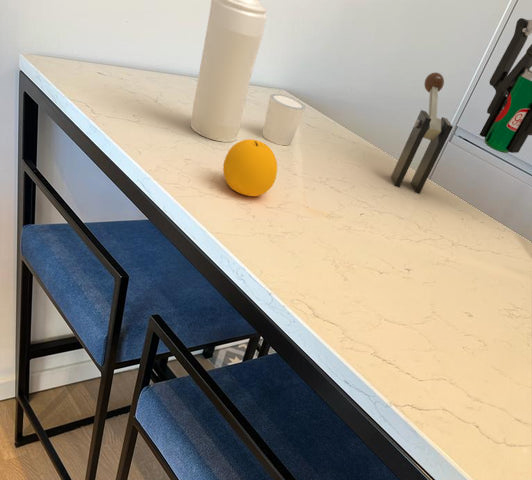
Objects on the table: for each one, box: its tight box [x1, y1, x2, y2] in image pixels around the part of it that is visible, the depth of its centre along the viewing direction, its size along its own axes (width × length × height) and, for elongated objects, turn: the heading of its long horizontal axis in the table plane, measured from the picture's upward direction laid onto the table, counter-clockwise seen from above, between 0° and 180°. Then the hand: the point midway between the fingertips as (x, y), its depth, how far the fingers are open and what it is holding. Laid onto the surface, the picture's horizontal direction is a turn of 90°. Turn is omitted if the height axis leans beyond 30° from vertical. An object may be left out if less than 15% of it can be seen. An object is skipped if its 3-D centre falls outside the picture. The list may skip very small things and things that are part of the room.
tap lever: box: [423, 72, 445, 141], centre depth 101 cm, size 14×3×3 cm, turn 178°
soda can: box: [483, 68, 532, 154], centre depth 93 cm, size 5×5×12 cm
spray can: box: [190, 0, 268, 143], centre depth 92 cm, size 12×11×25 cm
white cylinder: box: [262, 93, 306, 146], centre depth 105 cm, size 7×7×7 cm
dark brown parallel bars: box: [390, 109, 454, 195], centre depth 102 cm, size 10×8×14 cm
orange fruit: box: [222, 138, 278, 197], centre depth 83 cm, size 8×8×8 cm
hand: (498, 143), depth 96 cm, fingers closed on soda can, 5 cm apart
